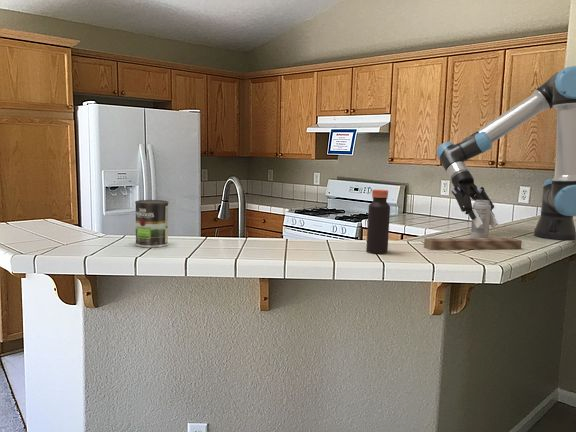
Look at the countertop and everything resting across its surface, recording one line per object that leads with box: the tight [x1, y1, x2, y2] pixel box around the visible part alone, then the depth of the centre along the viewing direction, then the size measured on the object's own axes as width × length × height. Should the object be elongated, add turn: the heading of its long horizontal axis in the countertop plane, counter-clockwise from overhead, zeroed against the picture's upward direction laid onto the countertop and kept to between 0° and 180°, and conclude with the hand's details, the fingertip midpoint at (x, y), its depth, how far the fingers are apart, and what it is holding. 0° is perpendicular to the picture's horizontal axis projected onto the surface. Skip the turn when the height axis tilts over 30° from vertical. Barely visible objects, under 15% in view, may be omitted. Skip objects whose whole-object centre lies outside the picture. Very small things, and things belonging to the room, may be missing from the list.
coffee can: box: [134, 199, 169, 249], centre depth 165 cm, size 10×10×14 cm
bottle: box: [365, 189, 391, 255], centre depth 164 cm, size 7×7×20 cm
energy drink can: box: [470, 200, 491, 238], centre depth 186 cm, size 6×6×15 cm
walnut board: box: [423, 237, 523, 251], centre depth 177 cm, size 34×5×3 cm, turn 101°
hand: (487, 225), depth 182 cm, fingers closed on energy drink can, 6 cm apart
